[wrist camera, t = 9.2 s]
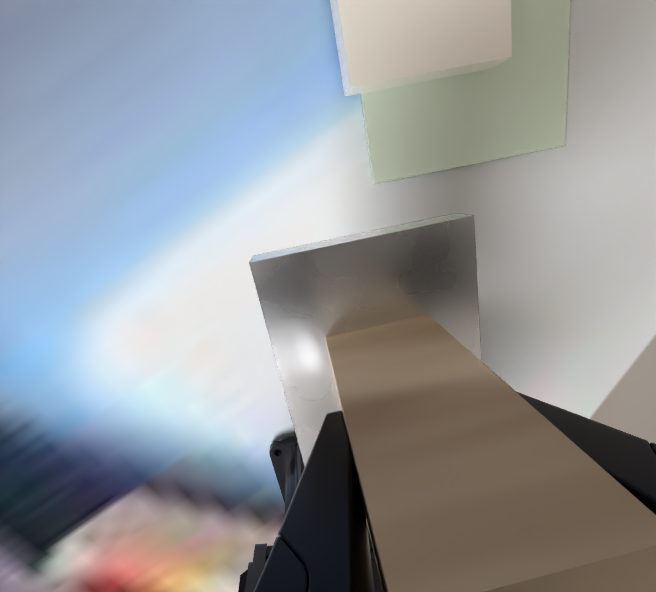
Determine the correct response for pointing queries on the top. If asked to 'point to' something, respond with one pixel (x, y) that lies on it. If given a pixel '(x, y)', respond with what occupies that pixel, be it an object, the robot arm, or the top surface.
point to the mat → (478, 104)
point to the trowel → (441, 422)
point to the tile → (418, 40)
